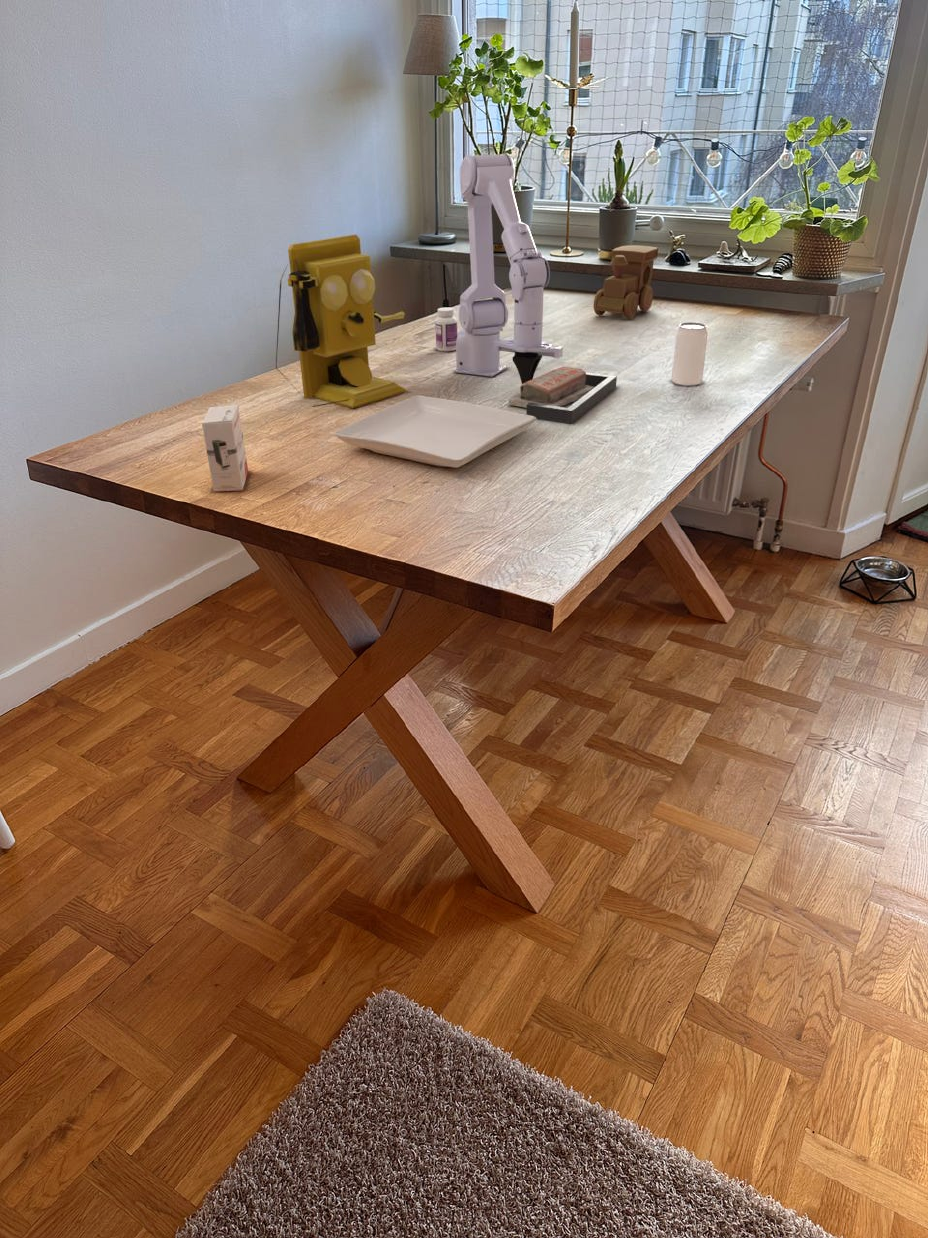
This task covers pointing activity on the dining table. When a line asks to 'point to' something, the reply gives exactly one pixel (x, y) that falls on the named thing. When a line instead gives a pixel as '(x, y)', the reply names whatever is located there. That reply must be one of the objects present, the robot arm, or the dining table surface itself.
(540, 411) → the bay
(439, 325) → the pill bottle
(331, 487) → the dining table surface
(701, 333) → the can
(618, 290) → the wooden toy train
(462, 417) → the square plate
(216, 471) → the ink box
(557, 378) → the packaged product
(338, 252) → the vintage telephone
